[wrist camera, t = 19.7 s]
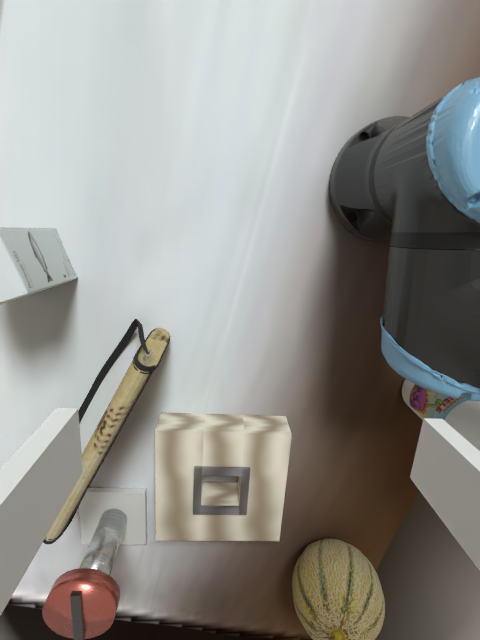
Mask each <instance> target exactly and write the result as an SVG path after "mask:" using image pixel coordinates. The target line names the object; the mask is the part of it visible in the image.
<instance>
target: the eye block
mask: <svg viewBox="0 0 480 640" xmlns="http://www.w3.org/2000/svg"><path fill="white" fill-rule="evenodd" d="M291 436H292V434H291V431H290V428H289V425H288V422H287V419H286V416H257V415H221V414H186V413H161V415H160V418H159V421H158V424H157V427H156V430H155V504H156V541H279V539H280V531H281V522H282V513H283V505H284V496H285V488H286V479H287V471H288V462H289V454H290V445H291ZM203 476H238V482H203Z"/></svg>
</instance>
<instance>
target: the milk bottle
mask: <svg viewBox="0 0 480 640" xmlns="http://www.w3.org/2000/svg"><path fill="white" fill-rule="evenodd" d="M402 397H403V400H404V402H405V403H406V404H407V405H408V406H409V407H410V408H411V409H412V410H413V411H414V412H415V413H416V414H417V415H418V416H419V417H420V418H421V419H422V420H423V419H424V418H431V419H443V420H444V421H445V422H447V423H448V424H449V425H450V426H451V427H452V428H454V429H455V430H456V431H457V432H458V433H459V434H460V435H462V436H463V437H464V438H465V439H466V440H467V441H468V442H470V443H471V444H472V445H473V446H474V447H475V448H476V449H478V450H479V451H480V401H470V400H468V399H466V398H464V397H462V396H460V397H459V398H452V397H448V396H444V395H441V394H438V393H435V392H432V391H430V390H427V389H424V388H422V387H420V386H418V385H416V384H414V383H412V382H410V381H408V380H407V379H405V381H404V383H403V386H402Z"/></svg>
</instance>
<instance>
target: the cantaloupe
mask: <svg viewBox="0 0 480 640" xmlns="http://www.w3.org/2000/svg"><path fill="white" fill-rule="evenodd" d="M292 590H293V601H294V606H295V609H296V612H297V615H298V617H299V619H300V621H301V623H302V624H303V626H304V628H305V629H306V631H307V633H308V634H309V635H310V636H311V638H312V639H313V640H375V638H376V637H377V635H378V634H379V632H380V630H381V628H382V625H383V620H384V614H385V602H384V596H383V592H382V588H381V584H380V581H379V578H378V575H377V573H376V571H375V569H374V567H373V566H372V564H371V563H370V562H369V560H368V559H367V558H366V557H365V556H364V555H363V554H362V553H361V552H360V550H358V549H357V548H356V547H354V546H353V545H351V544H348V543H346V542H344V541H341V540H338V539H332V538H329V539H323V540H318V541H316V542H313V543H311V544H309V545H308V546H307V547H306V549H305V550H304V551H303V553H302V554H301V555H300V556H299V558H298V560H297V562H296V565H295V568H294V571H293V578H292Z"/></svg>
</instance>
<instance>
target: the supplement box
mask: <svg viewBox="0 0 480 640" xmlns="http://www.w3.org/2000/svg"><path fill="white" fill-rule="evenodd" d="M75 279H77V276H76V274H75V272H74V270H73V267H72V265H71V263H70V261H69V259H68V257H67V254H66V252H65V250H64V247H63V245H62V243H61V240H60V238H59V235H58V233H57V230H56V228H5V227H0V304H3V303H6V302H9V301H13V300H16V299H19V298H22V297H25V296H28V295H31V294H34V293H37V292H40V291H43V290H46V289H49V288H52V287H55V286H58V285H61V284H64V283H66V282H69V281H72V280H75Z"/></svg>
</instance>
